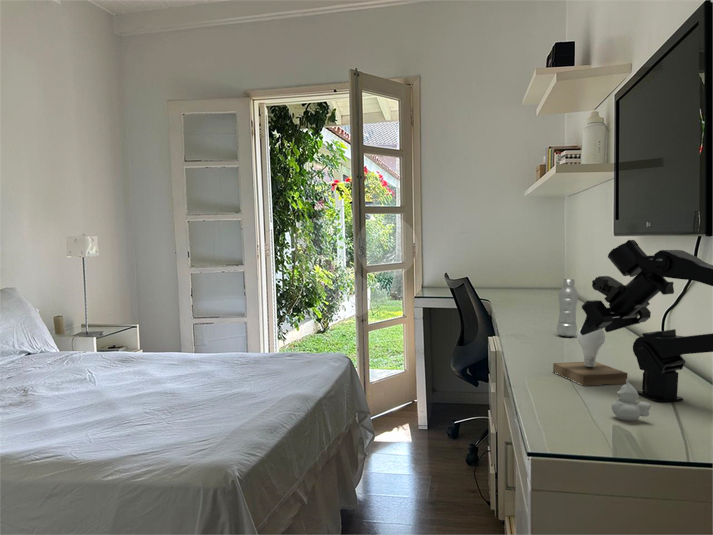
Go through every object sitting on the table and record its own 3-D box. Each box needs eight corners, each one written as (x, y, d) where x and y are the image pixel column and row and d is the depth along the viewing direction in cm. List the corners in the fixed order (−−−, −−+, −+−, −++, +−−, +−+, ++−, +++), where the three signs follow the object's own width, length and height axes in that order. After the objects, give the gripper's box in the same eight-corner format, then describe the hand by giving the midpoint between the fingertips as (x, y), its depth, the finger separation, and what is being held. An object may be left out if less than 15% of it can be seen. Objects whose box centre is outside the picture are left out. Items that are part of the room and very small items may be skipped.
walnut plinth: (626, 383, 127) (627, 373, 127) (583, 386, 125) (583, 375, 125) (593, 370, 139) (594, 361, 139) (553, 372, 136) (553, 363, 136)
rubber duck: (611, 413, 106) (612, 373, 105) (648, 418, 103) (650, 378, 102) (610, 421, 101) (612, 380, 100) (650, 427, 98) (652, 385, 98)
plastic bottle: (552, 335, 187) (554, 279, 186) (566, 334, 190) (568, 278, 189) (566, 338, 182) (568, 280, 180) (581, 337, 184) (583, 280, 183)
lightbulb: (574, 369, 130) (576, 324, 130) (576, 363, 136) (578, 321, 135) (603, 372, 127) (605, 327, 127) (604, 366, 133) (605, 323, 132)
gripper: (640, 264, 129) (598, 304, 140) (590, 265, 120) (549, 308, 130) (671, 300, 123) (625, 339, 133) (621, 304, 114) (575, 346, 124)
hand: (593, 332), depth 130 cm, fingers open, 9 cm apart
